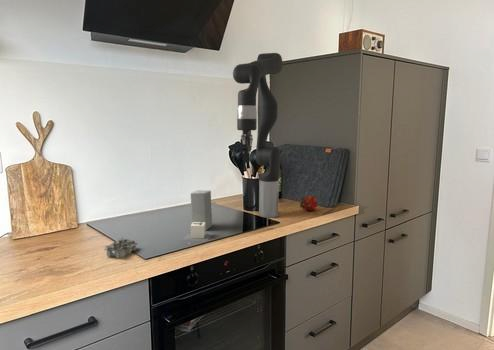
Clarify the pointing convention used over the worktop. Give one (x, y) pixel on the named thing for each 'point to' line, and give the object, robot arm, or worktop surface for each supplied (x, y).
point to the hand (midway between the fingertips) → (246, 162)
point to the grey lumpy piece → (121, 248)
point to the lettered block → (198, 230)
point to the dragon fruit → (308, 203)
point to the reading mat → (207, 236)
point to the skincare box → (201, 207)
